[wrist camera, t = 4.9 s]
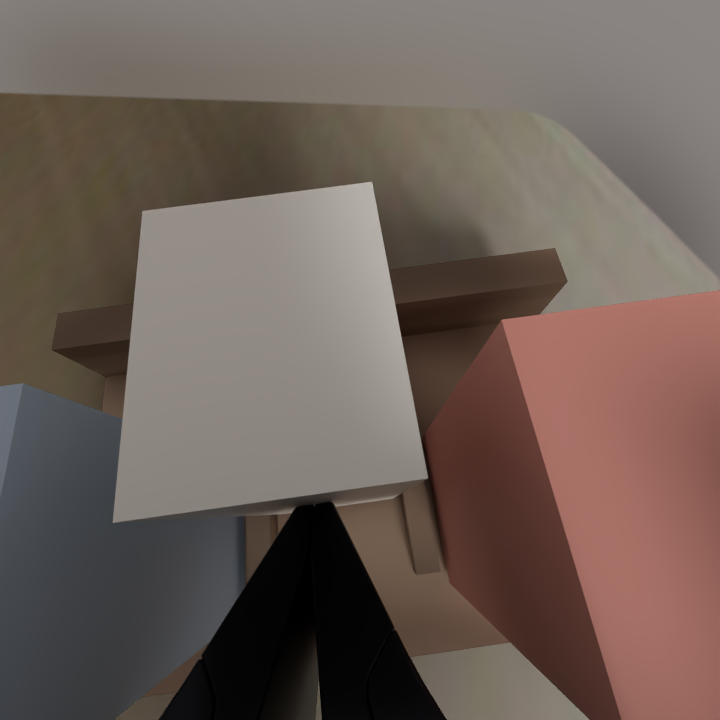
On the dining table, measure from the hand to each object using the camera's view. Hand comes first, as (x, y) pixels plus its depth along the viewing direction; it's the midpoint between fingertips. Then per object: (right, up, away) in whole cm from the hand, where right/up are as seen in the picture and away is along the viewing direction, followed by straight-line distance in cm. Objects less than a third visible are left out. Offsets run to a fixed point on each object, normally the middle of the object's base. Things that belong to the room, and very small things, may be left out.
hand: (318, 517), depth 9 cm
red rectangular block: (+6, -2, +5) cm, 8 cm away
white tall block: (0, 0, +6) cm, 6 cm away
